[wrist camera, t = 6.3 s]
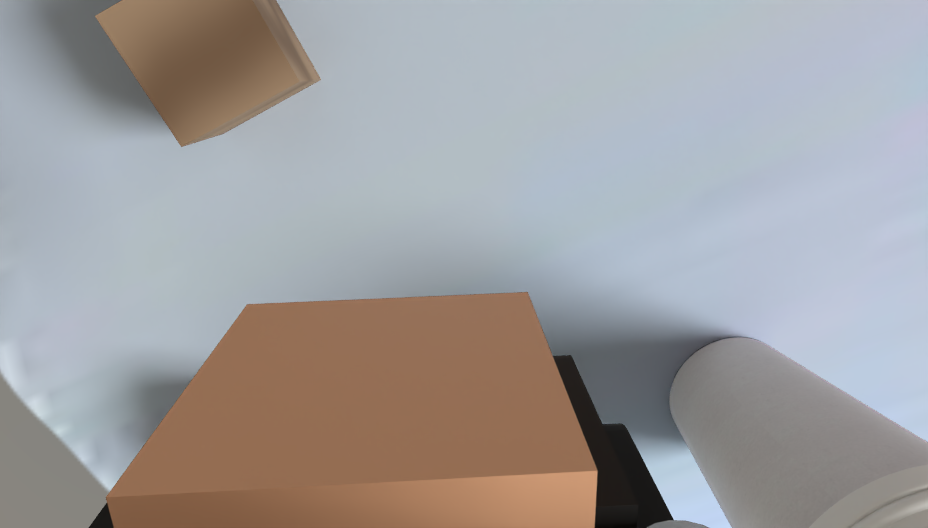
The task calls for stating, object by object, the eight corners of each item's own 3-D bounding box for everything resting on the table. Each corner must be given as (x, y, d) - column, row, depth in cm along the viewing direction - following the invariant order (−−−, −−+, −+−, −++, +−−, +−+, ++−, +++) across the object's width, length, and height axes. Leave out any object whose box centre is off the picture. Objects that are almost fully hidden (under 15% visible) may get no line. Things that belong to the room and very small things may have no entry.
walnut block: (155, 26, 26) (95, 16, 21) (257, -33, 25) (219, -57, 21) (223, 133, 27) (181, 146, 23) (321, 79, 27) (299, 81, 22)
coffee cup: (620, 458, 34) (766, 745, 19) (669, 295, 31) (881, 489, 17) (781, 479, 35) (1033, 765, 20) (842, 323, 32) (1182, 528, 18)
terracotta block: (247, 304, 11) (105, 497, 6) (527, 291, 11) (597, 470, 6) (282, 530, 13) (191, 818, 8) (525, 516, 13) (580, 790, 8)
